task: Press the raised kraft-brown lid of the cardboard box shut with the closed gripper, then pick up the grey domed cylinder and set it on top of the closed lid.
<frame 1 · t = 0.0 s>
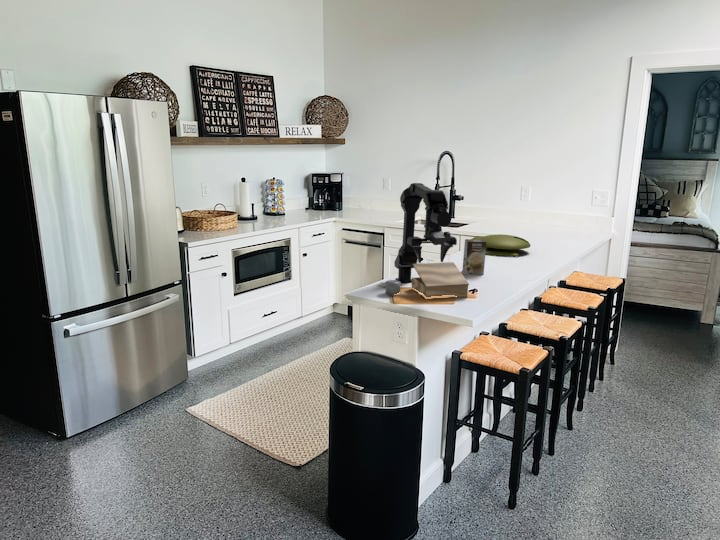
hand: (430, 262, 208), 15 cm above the table, fingers open, 9 cm apart
box: (438, 293, 219), on the table
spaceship: (498, 252, 312), on the table
coffee box: (473, 273, 255), on the table
grey domed cylinder: (392, 293, 217), on the table
lid: (440, 274, 217), point 8 cm above the table, hinge at 20.0°
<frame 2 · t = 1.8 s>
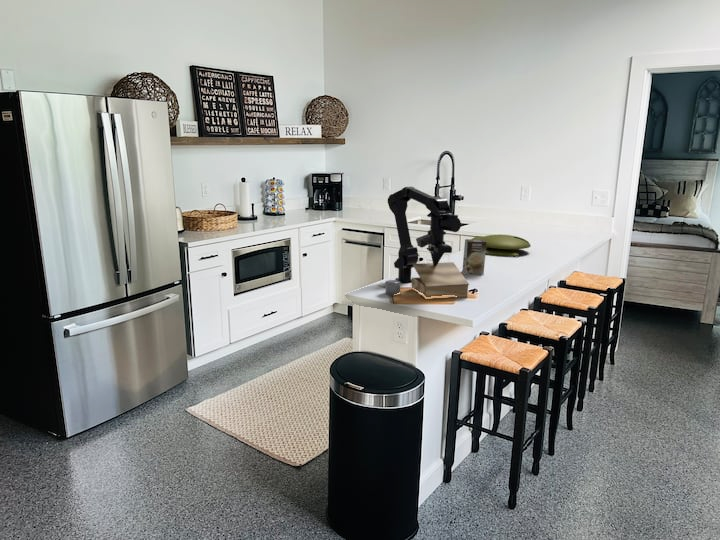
hand: (435, 265, 222), 10 cm above the table, fingers closed
lid: (440, 274, 217), point 8 cm above the table, hinge at 19.9°, touching gripper
everything else where it was.
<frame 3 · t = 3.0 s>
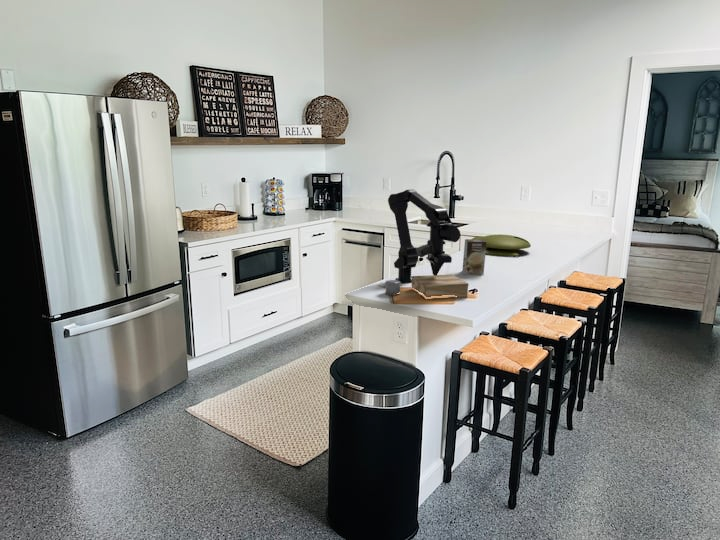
hand: (434, 275, 222), 6 cm above the table, fingers closed
lid: (439, 280, 218), point 5 cm above the table, hinge at -0.4°, touching box
everything else where it was.
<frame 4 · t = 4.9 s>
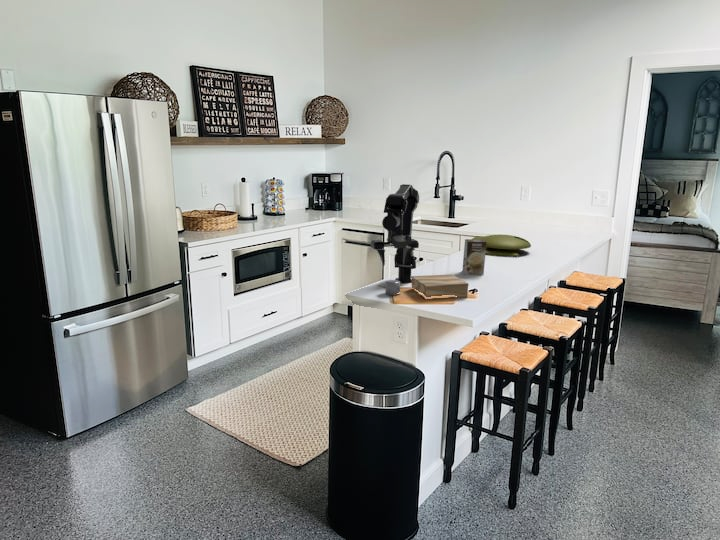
hand: (393, 265, 214), 12 cm above the table, fingers open, 8 cm apart
nothing on the table moved.
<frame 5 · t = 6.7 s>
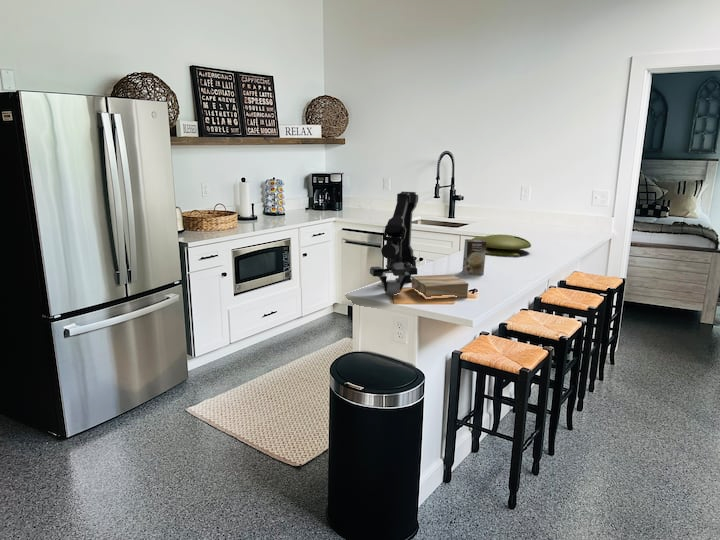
hand: (392, 291, 217), 1 cm above the table, fingers closed on grey domed cylinder, 6 cm apart
grey domed cylinder: (392, 293, 217), on the table, touching gripper
everything else where it was.
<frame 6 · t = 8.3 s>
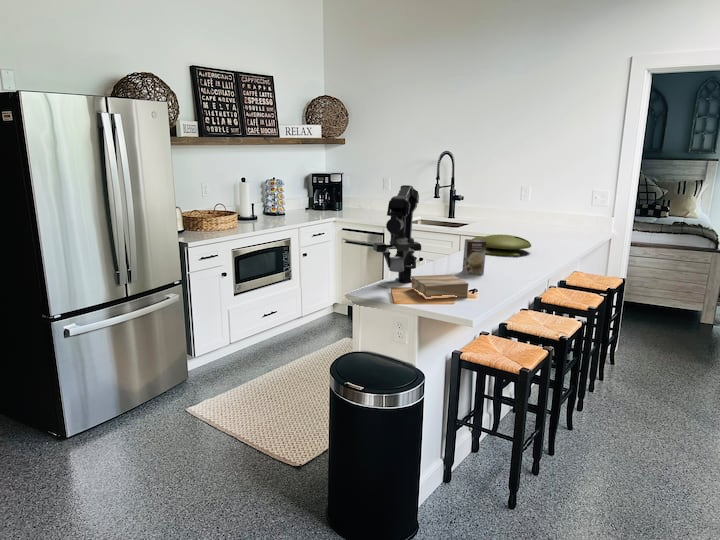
hand: (396, 267, 215), 11 cm above the table, fingers closed on grey domed cylinder, 6 cm apart
grey domed cylinder: (396, 270, 215), point 10 cm above the table, touching gripper
everything else where it was.
when the fingers open (8 cm above the table, at t = 10.3 s): grey domed cylinder drops 1 cm, resting on lid.
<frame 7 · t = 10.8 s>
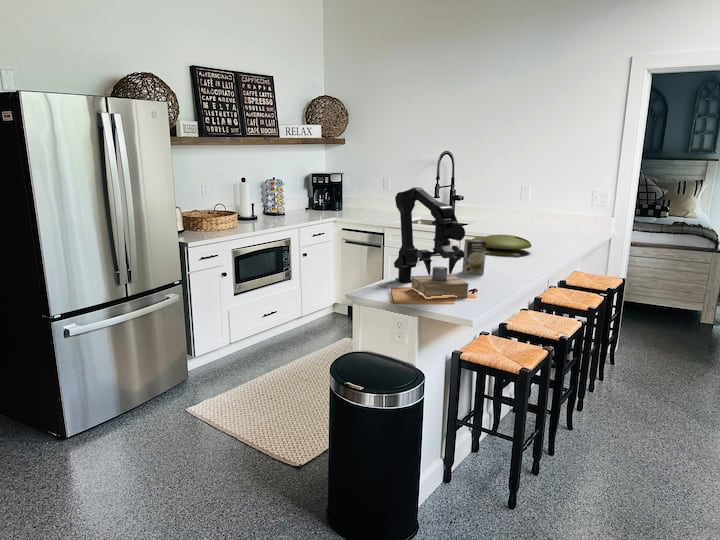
hand: (439, 274, 217), 8 cm above the table, fingers open, 9 cm apart
grey domed cylinder: (439, 279, 218), point 6 cm above the table, touching lid
lid: (439, 280, 218), point 5 cm above the table, hinge at -0.4°, touching box, grey domed cylinder
everything else where it was.
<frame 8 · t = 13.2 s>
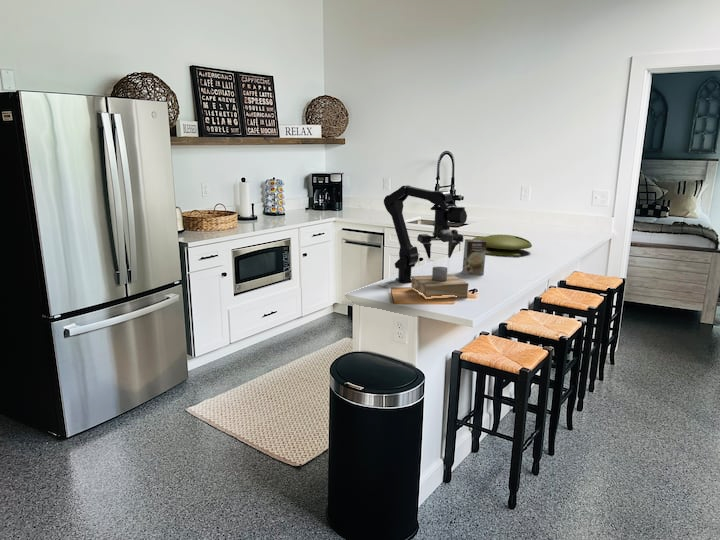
hand: (439, 258, 224), 13 cm above the table, fingers open, 9 cm apart
nothing on the table moved.
at the end: lid at +0° (first picture: +20°); grey domed cylinder inside the target area on the box (0.1 cm from its centre), point 5.6 cm above the box's base; the gripper is holding nothing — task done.
